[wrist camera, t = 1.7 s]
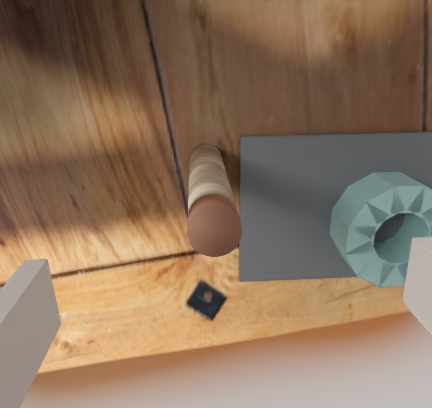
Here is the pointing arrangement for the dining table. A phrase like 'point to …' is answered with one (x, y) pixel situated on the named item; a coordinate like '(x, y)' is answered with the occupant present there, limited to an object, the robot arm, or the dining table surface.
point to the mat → (313, 196)
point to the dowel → (211, 204)
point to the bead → (371, 221)
